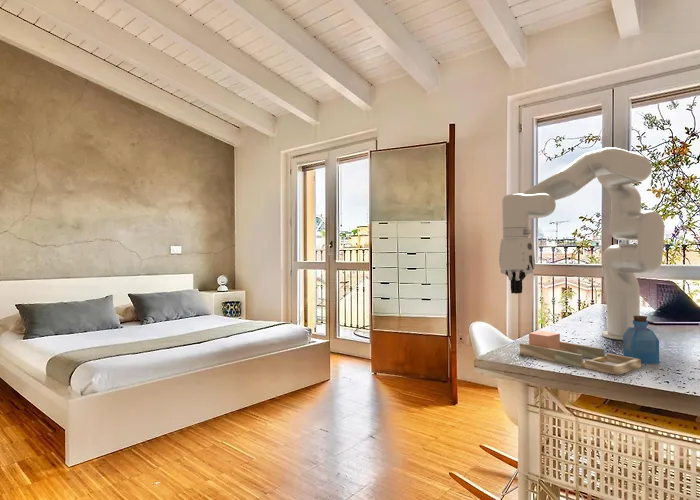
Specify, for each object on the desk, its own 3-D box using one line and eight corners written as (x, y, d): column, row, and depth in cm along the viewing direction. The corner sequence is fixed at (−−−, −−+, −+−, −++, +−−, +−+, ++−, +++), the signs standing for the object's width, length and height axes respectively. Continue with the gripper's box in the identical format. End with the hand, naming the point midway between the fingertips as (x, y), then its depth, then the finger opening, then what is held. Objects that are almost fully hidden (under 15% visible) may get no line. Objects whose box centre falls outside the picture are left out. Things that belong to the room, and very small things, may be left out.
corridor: (543, 348, 133) (543, 338, 133) (641, 367, 111) (640, 355, 111) (519, 353, 127) (519, 343, 127) (618, 375, 104) (617, 362, 104)
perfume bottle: (659, 364, 114) (658, 318, 114) (633, 363, 115) (632, 318, 115) (648, 358, 120) (647, 314, 120) (623, 357, 121) (622, 314, 121)
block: (541, 350, 131) (540, 330, 131) (560, 354, 126) (559, 333, 126) (529, 353, 128) (528, 333, 128) (548, 357, 123) (547, 336, 123)
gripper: (545, 233, 130) (546, 294, 130) (503, 235, 143) (503, 290, 143) (529, 233, 126) (531, 295, 126) (488, 234, 138) (488, 292, 138)
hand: (516, 293), depth 134 cm, fingers closed
